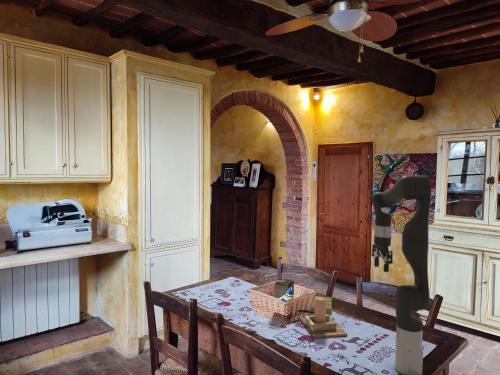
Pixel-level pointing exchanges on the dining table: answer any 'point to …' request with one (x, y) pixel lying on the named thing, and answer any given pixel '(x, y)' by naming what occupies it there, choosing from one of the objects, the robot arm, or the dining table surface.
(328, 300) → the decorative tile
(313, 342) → the dining table surface
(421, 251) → the robot arm
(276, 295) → the coffee box
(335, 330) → the dock
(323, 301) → the tan wooden cylinder
